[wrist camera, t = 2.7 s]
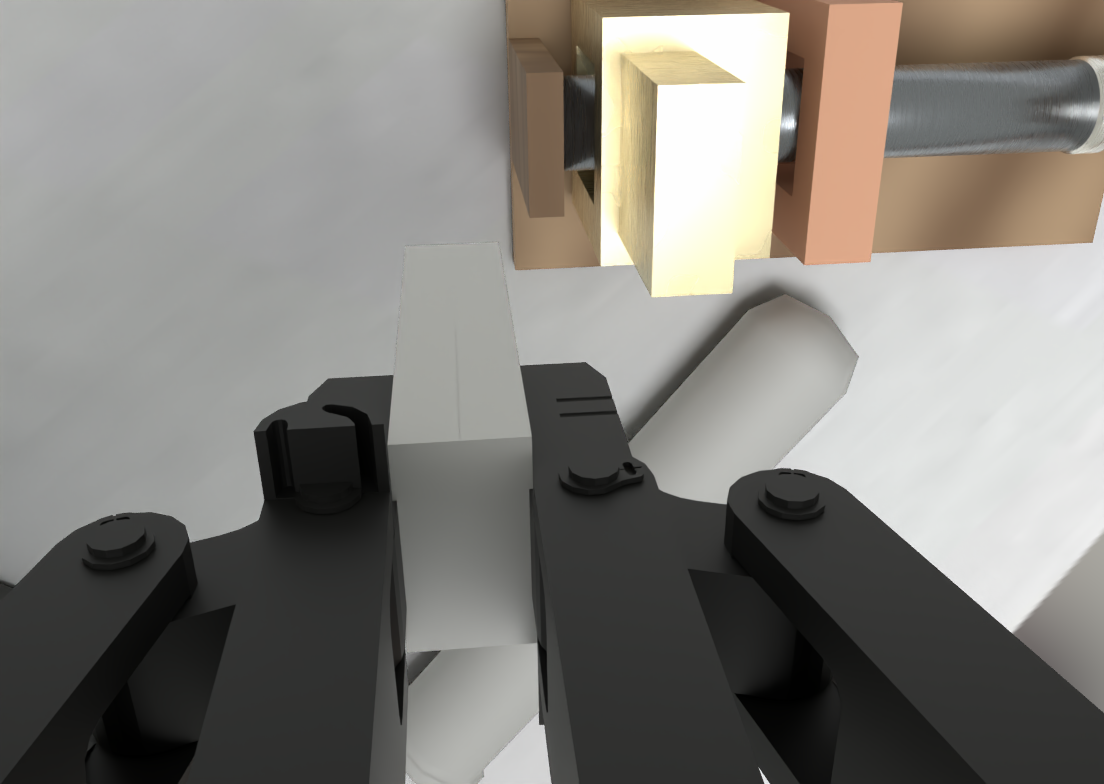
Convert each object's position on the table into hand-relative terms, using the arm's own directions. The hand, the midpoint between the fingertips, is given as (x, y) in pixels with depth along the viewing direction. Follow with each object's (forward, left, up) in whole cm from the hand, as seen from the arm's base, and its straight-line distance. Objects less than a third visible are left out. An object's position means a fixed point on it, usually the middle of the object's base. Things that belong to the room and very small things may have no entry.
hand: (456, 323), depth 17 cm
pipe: (+13, 0, -17) cm, 22 cm away
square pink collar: (+11, 0, -20) cm, 22 cm away
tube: (+6, -18, -21) cm, 28 cm away
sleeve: (+7, 0, -19) cm, 20 cm away
